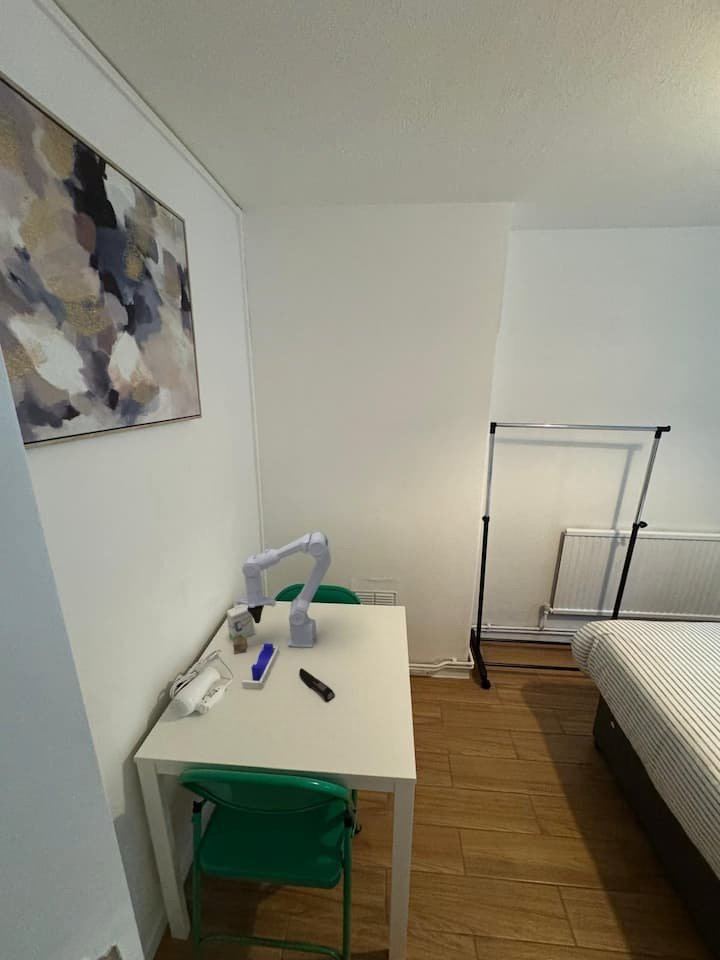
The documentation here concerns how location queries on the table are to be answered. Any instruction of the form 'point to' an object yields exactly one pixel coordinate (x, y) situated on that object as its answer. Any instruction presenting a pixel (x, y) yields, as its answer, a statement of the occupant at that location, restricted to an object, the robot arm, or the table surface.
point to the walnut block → (240, 645)
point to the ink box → (240, 622)
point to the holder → (260, 683)
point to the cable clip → (262, 662)
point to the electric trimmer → (317, 685)
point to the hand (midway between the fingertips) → (257, 621)
